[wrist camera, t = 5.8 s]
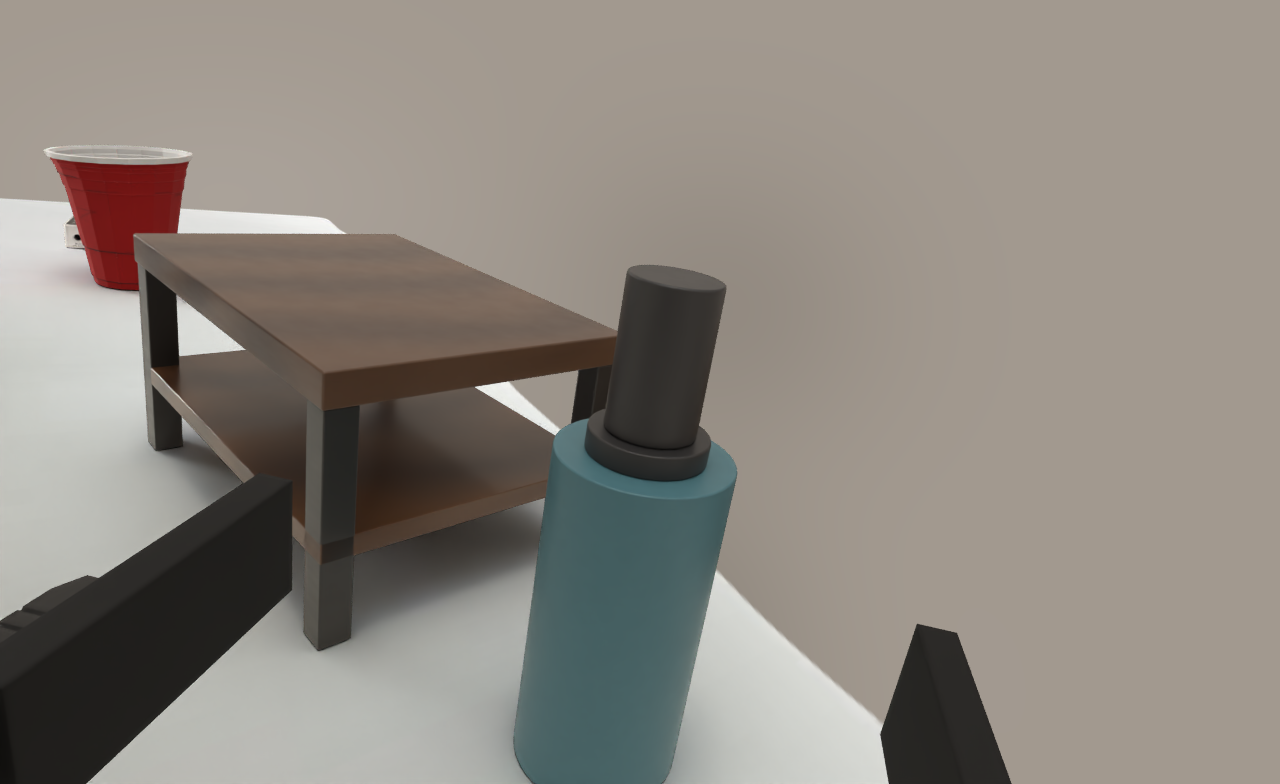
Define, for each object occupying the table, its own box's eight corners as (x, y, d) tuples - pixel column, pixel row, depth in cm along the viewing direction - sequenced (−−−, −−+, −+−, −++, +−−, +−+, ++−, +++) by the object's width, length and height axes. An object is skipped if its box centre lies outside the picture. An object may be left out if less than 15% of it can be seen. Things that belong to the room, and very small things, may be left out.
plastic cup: (85, 262, 75) (74, 132, 71) (210, 274, 78) (207, 150, 74) (33, 291, 65) (16, 142, 61) (178, 303, 68) (171, 162, 64)
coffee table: (145, 441, 45) (132, 233, 41) (386, 402, 55) (395, 234, 51) (316, 653, 31) (323, 372, 27) (592, 548, 42) (627, 334, 38)
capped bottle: (480, 727, 29) (534, 254, 23) (598, 665, 33) (670, 251, 27) (588, 841, 25) (686, 312, 19) (705, 755, 29) (816, 298, 23)
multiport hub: (132, 229, 90) (131, 209, 89) (116, 250, 80) (115, 228, 80) (86, 226, 88) (84, 205, 87) (64, 247, 78) (62, 224, 78)
